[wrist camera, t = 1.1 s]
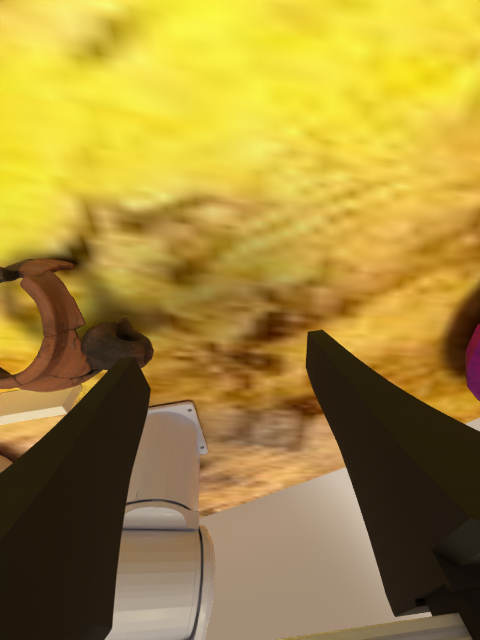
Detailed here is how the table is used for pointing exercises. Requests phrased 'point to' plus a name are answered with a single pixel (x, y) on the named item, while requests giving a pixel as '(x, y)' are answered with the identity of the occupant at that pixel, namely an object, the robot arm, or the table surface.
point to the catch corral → (35, 404)
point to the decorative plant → (473, 363)
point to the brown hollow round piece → (68, 334)
